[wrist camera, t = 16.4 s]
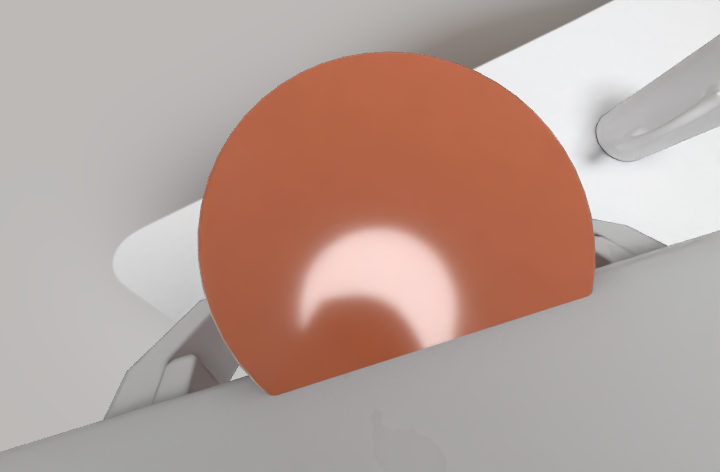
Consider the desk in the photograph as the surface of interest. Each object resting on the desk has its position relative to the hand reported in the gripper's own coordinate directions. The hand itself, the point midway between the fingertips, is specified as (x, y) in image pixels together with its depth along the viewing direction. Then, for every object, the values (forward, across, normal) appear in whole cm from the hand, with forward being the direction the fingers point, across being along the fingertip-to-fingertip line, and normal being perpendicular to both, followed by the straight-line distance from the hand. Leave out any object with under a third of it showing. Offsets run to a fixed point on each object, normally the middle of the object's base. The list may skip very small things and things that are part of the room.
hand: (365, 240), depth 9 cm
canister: (+4, 0, +5) cm, 6 cm away
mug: (+17, -32, +9) cm, 37 cm away
